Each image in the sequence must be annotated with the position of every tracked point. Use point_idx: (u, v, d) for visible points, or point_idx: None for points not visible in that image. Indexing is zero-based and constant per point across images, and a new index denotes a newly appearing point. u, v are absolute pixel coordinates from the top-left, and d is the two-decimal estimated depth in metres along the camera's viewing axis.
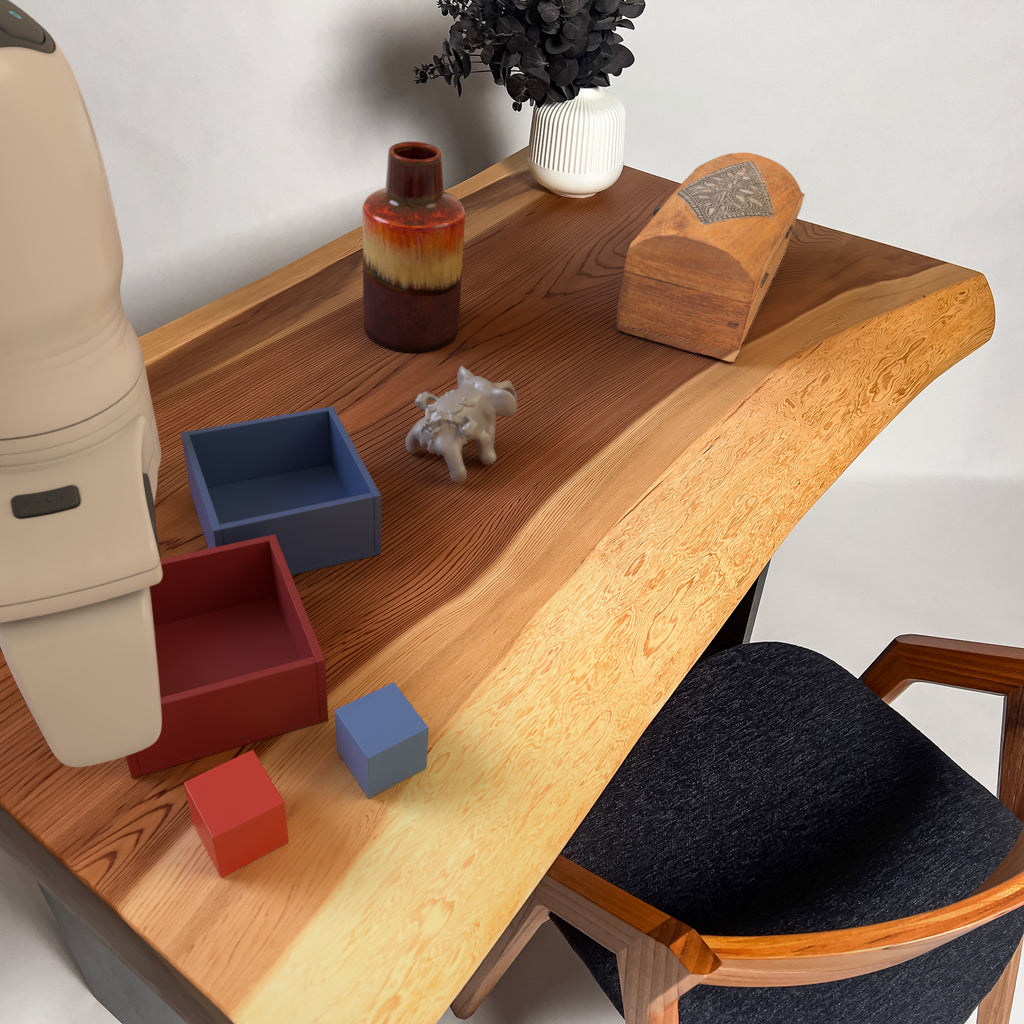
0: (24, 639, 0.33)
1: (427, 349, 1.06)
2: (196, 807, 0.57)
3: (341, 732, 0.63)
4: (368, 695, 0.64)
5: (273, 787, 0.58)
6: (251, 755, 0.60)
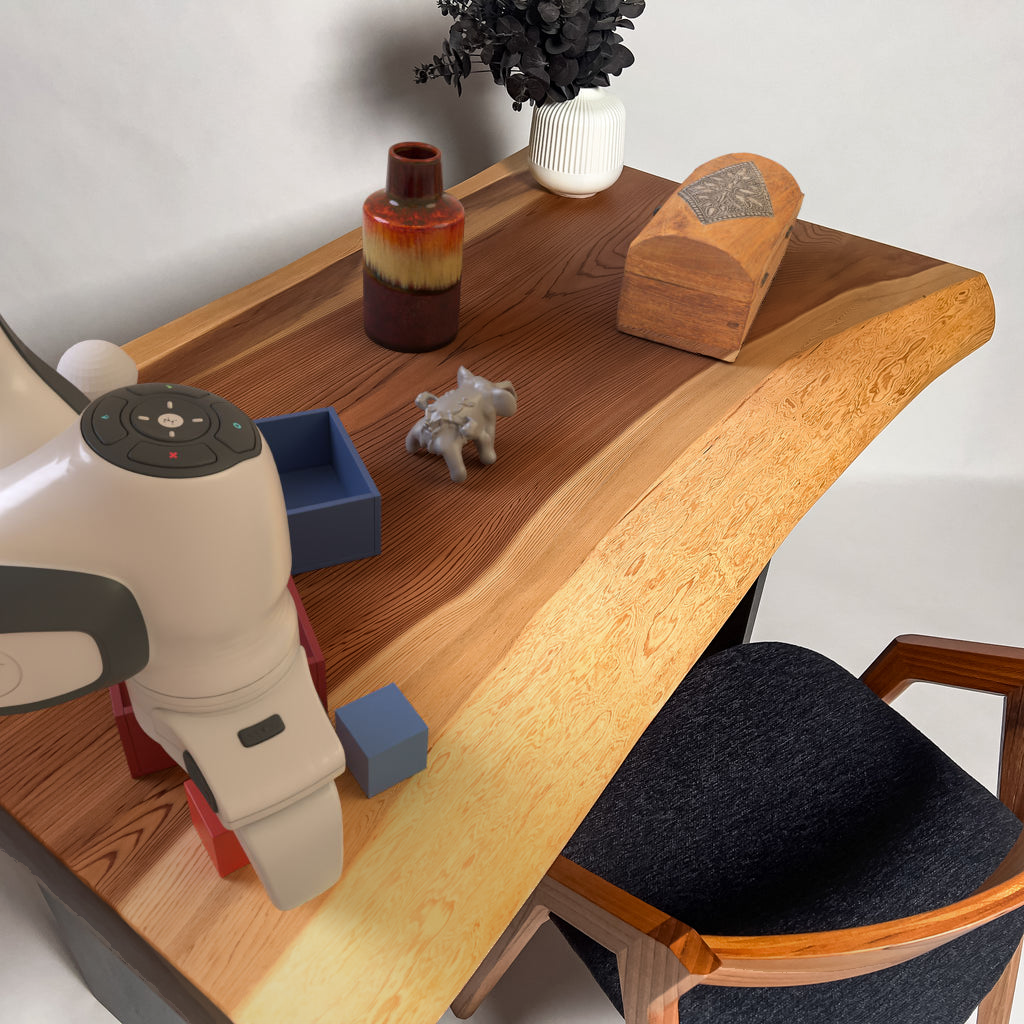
0: (261, 832, 0.46)
1: (427, 349, 1.06)
2: (196, 807, 0.57)
3: (341, 732, 0.63)
4: (368, 695, 0.64)
5: None
6: None
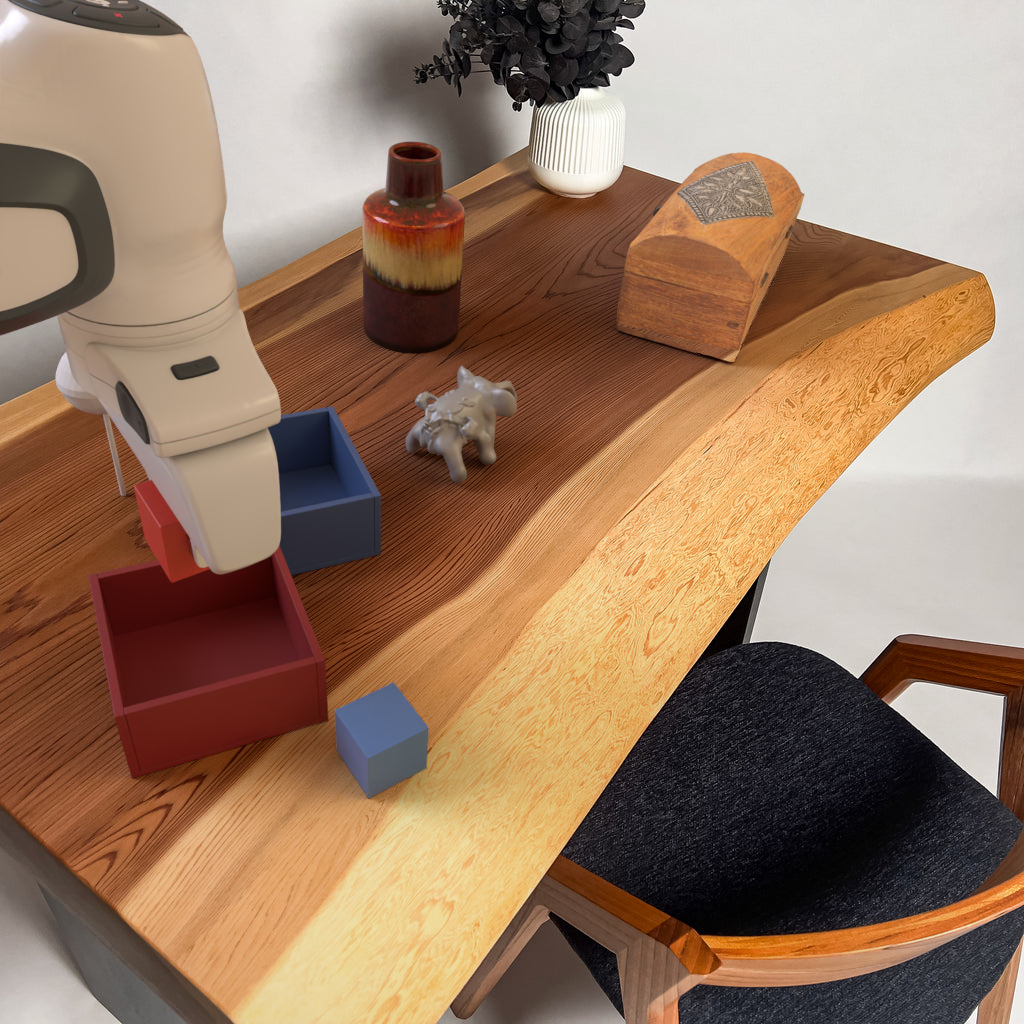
0: (193, 467, 0.46)
1: (427, 349, 1.06)
2: (145, 504, 0.57)
3: (341, 732, 0.63)
4: (368, 695, 0.64)
5: None
6: None
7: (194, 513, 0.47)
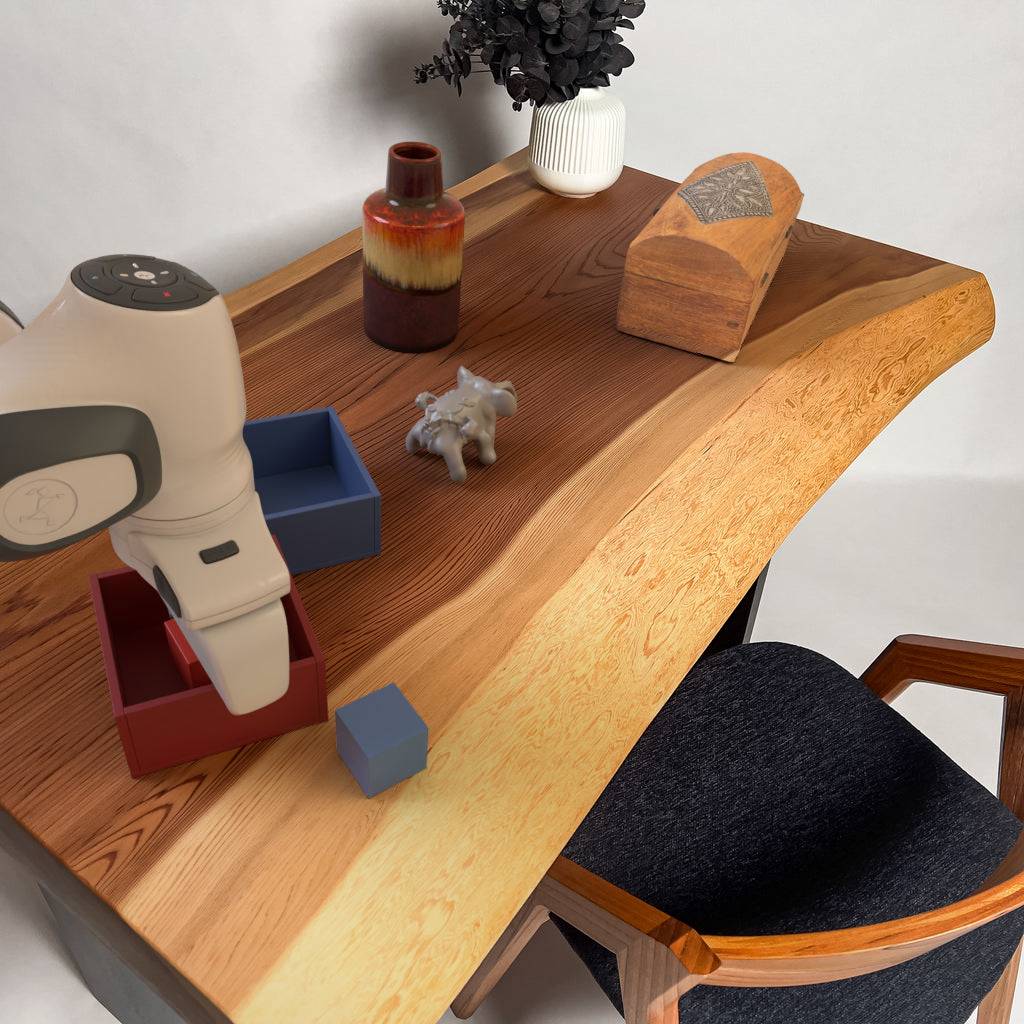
0: (217, 636, 0.55)
1: (427, 349, 1.06)
2: (174, 641, 0.66)
3: (341, 732, 0.63)
4: (368, 695, 0.64)
5: None
6: None
7: (217, 672, 0.56)
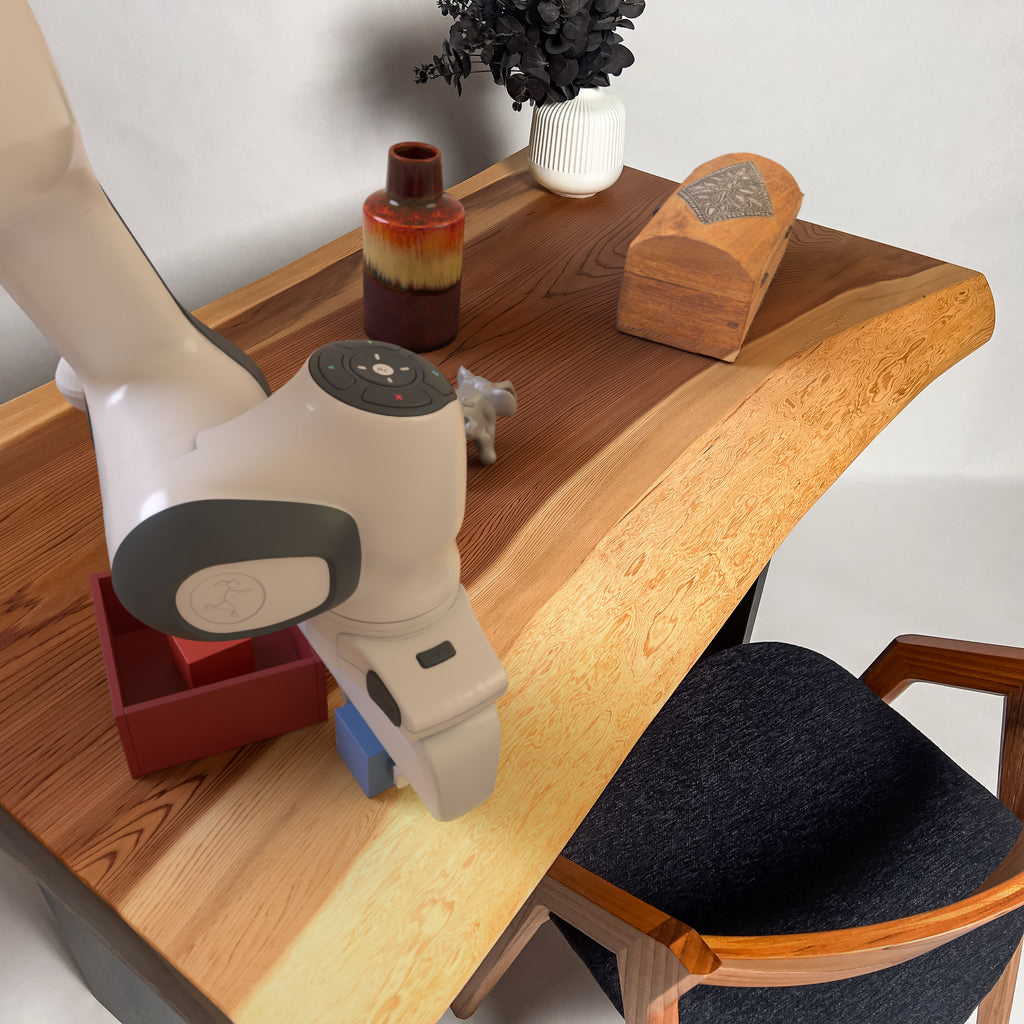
0: (436, 745, 0.51)
1: (427, 349, 1.06)
2: (174, 641, 0.66)
3: (341, 732, 0.63)
4: None
5: None
6: None
7: (433, 782, 0.52)
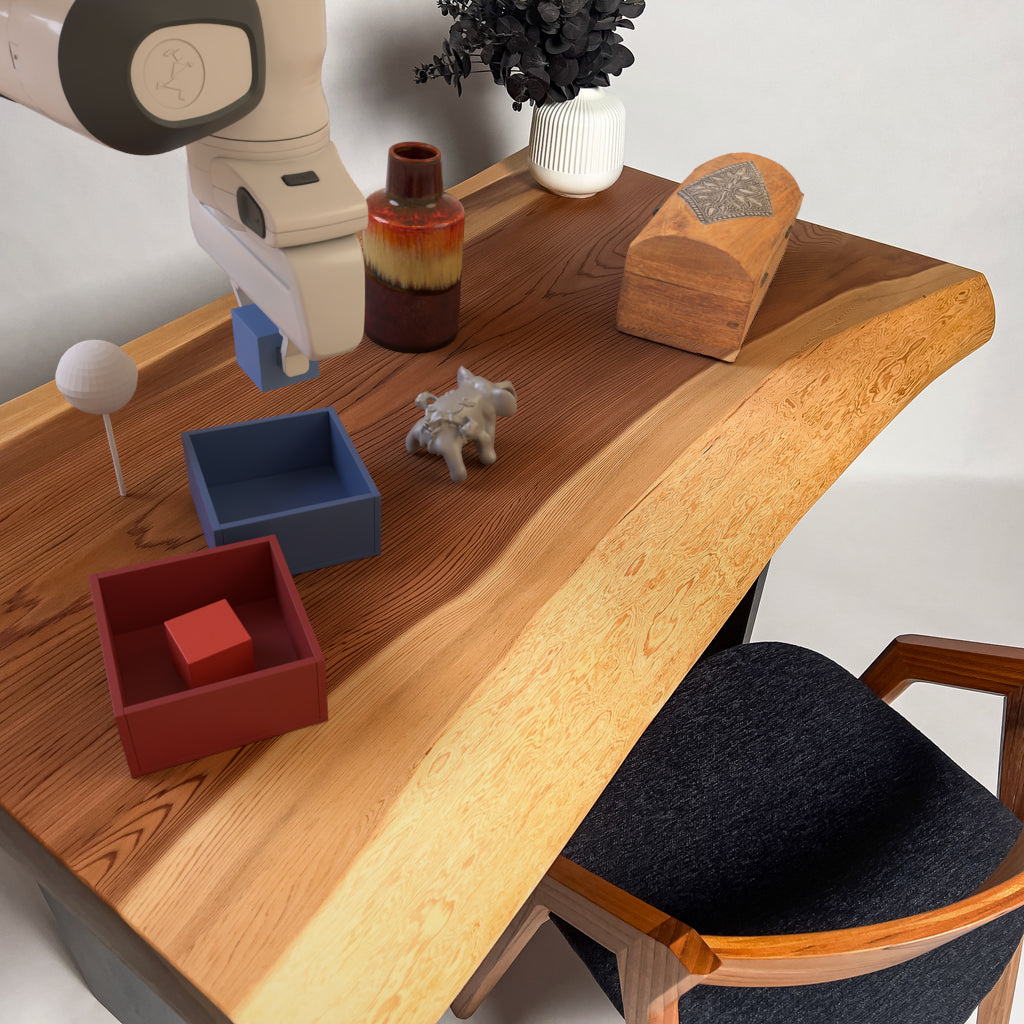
0: (299, 258, 0.57)
1: (427, 349, 1.06)
2: (174, 641, 0.66)
3: (237, 332, 0.69)
4: None
5: (242, 627, 0.67)
6: (223, 603, 0.69)
7: (298, 298, 0.57)
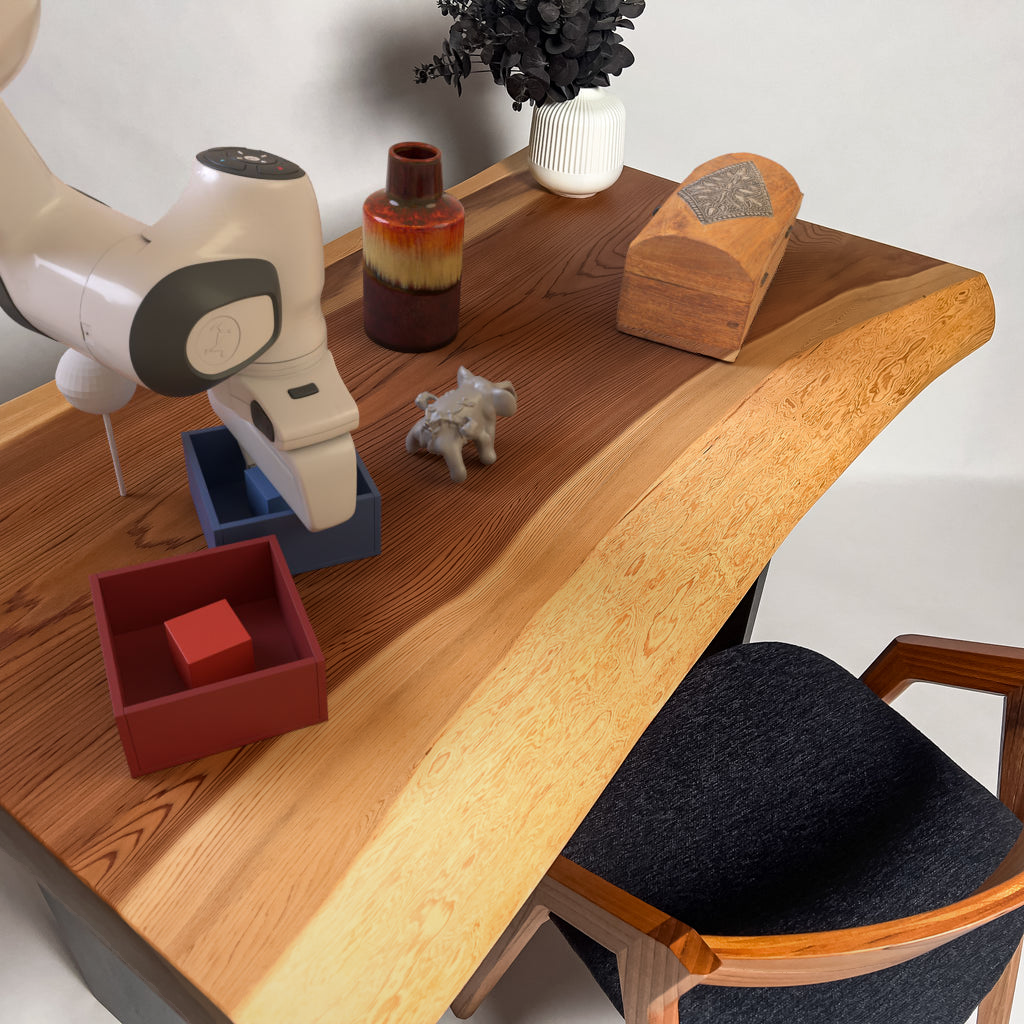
0: (302, 457, 0.68)
1: (427, 349, 1.06)
2: (174, 641, 0.66)
3: (250, 489, 0.81)
4: None
5: (242, 627, 0.67)
6: (223, 603, 0.69)
7: (301, 488, 0.69)
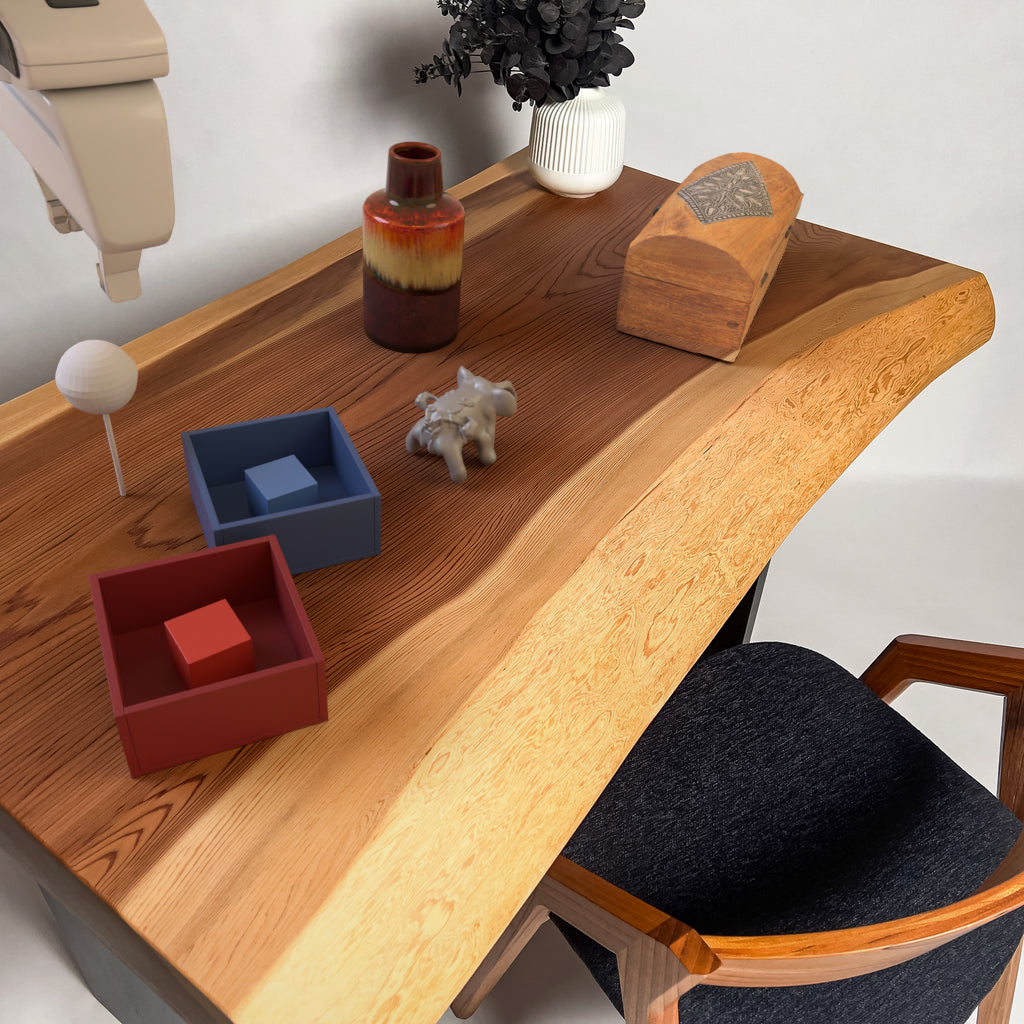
0: (69, 106, 0.42)
1: (427, 349, 1.06)
2: (174, 641, 0.66)
3: (250, 489, 0.81)
4: (272, 462, 0.81)
5: (242, 627, 0.67)
6: (223, 603, 0.69)
7: (72, 162, 0.43)
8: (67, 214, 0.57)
